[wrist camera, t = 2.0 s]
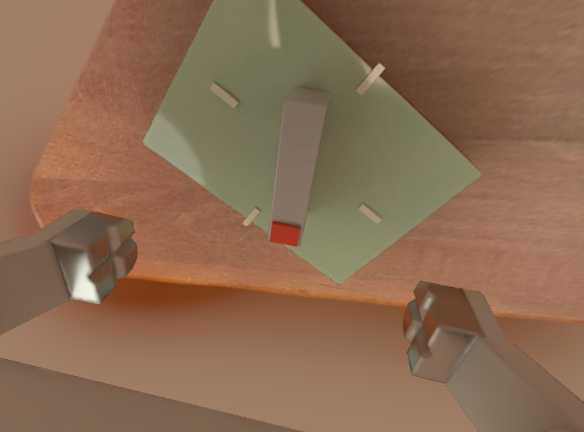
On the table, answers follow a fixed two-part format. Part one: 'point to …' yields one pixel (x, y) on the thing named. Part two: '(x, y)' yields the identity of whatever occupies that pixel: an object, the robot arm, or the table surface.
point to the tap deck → (335, 141)
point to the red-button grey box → (296, 163)
